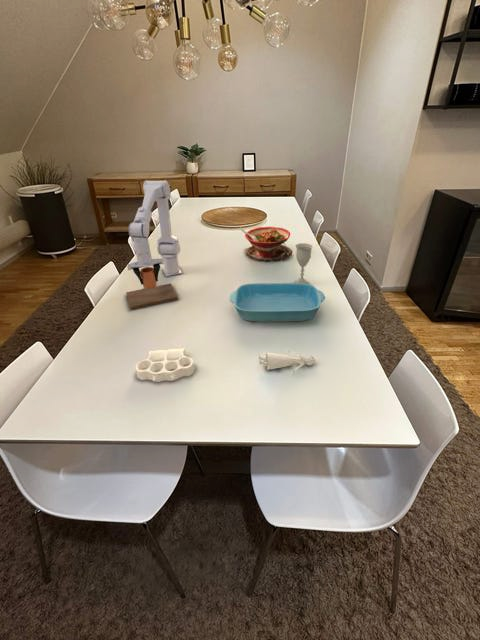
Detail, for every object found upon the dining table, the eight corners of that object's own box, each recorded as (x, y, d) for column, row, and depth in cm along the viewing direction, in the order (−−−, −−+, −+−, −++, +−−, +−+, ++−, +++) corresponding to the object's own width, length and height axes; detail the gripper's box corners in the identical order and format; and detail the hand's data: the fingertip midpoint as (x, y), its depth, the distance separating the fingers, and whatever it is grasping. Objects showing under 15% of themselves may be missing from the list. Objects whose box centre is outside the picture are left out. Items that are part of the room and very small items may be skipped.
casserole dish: (227, 325, 130) (226, 309, 126) (232, 297, 149) (232, 282, 145) (326, 326, 128) (328, 310, 124) (319, 297, 146) (320, 282, 142)
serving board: (126, 295, 154) (126, 292, 153) (171, 286, 160) (170, 283, 159) (130, 310, 143) (130, 306, 142) (178, 299, 149) (177, 296, 148)
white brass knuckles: (195, 352, 117) (194, 382, 105) (141, 356, 116) (134, 387, 104) (194, 344, 115) (192, 374, 103) (139, 348, 114) (132, 379, 102)
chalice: (311, 282, 158) (314, 244, 148) (307, 288, 153) (310, 250, 143) (295, 279, 161) (298, 242, 151) (291, 285, 156) (293, 247, 146)
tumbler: (142, 284, 149) (139, 268, 145) (155, 281, 151) (152, 266, 147) (144, 290, 145) (141, 273, 141) (157, 287, 147) (154, 271, 143)
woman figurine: (257, 343, 113) (312, 343, 114) (256, 354, 115) (310, 354, 116) (261, 367, 103) (320, 367, 104) (260, 378, 105) (318, 378, 106)
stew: (233, 260, 182) (231, 230, 174) (249, 244, 201) (248, 217, 192) (284, 267, 173) (285, 236, 164) (296, 249, 191) (297, 221, 183)
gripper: (126, 258, 134) (133, 289, 142) (162, 252, 139) (167, 282, 146) (124, 252, 140) (130, 282, 147) (159, 246, 144) (164, 276, 152)
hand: (149, 282), depth 147 cm, fingers closed on tumbler, 6 cm apart
